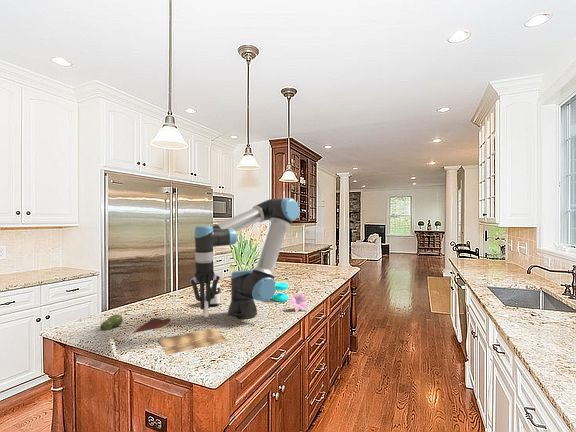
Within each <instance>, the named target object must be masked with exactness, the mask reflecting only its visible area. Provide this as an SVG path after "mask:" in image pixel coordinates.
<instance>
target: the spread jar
mask: <svg viewBox="0 0 576 432" xmlns="http://www.w3.org/2000/svg"><path fill="white" fill-rule="evenodd" d="M212 284H213V283H211V285H210V293H211V289H212ZM220 285H221V284H220V283H217V287H216V292H215V297H214V299H211V301H210V307H217V306H218V307H219V306H220V305H221V303H222V292H221V291H222V290H221V288H220V287H221V286H220ZM204 293H205V300H206V291H204Z"/></svg>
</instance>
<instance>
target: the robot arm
mask: <svg viewBox="0 0 576 432" xmlns="http://www.w3.org/2000/svg"><path fill="white" fill-rule="evenodd" d="M299 216H300V207H299V204H298V202H297V201H296V200H295V199H294V198H291V197H290V198H289V197H282V198H281V197H280V198H271V199H267V200H264V201H262V202H260V203H257V204H255V205H254V206H252V208H251V209H249V210H247V211H244V212H242V213H239V214H237V215H235V216H232V217H230V218H227V219H225V220H224V221H221V222H219V223H217V224H214V225H197V226H195V228H194V252H195V253H194V257H195V274H194V277H192V278H189V282H190V284H191V286H192V289H193V292H194V297H195V299H196V301H198V302H200V309H201V310H202V316H203V317H204V318H207V317H209V309H210V308H211V306H210V301H211V299H214V297H215V292H216V287H217V284H219V283H218V282H219V280H220V279H221V278H220V276H219V275H217V274H215V271H214V268H215V267H214V248H215V247H225V246H232V245H235V244H236V243H237V242H238V233H237V232H239V231H241V230H243V229H245V228H248V227H250V226H252V225H254V224H256V223H263V222H265V221H270V225H269V229H268V232H267V235H266V238H265V241H264V243H263V247H262V251H261V254H260V255H259V258H258V262H257V265H256V267H254V268H253V269H245V270H243V269H242V270H235V271H233V272H232V273H231V276H230V282H231V283H230V285H231V286H230V288H231V289H230V291H231V293H230V296H231V297H230V304H229V306H228V310H227V316H230V317H234V318H237V320H245V319H246V320H247V319H251V318H255V317H256V316H257V315H258V309H257V306H256V303H255V301H259V302H266V301H267V302H268V301H269V300H270V299H272V296H273V295H274V294H276V293H275V292H276V291H277V290H276V285H275V284H276V283H277V282H276V281H275V279H276V278H275V277H276V276H275V274H274V271H275V266H276V264H277V260H278V258H279V254H280V251H281V248H282V245H283V242H284V240H285V239H284V238H285V235H286V233H287V230H288V228H290V227H291V225H292V223H293V221H296V220H297V219H298V218H299ZM197 281H198V284H199V289H198V286H197ZM211 282H212V283H211ZM211 284H212V289H211V293H210V285H211ZM205 292H206V300H205Z"/></svg>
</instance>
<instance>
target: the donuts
mask: <svg viewBox="0 0 576 432" xmlns="http://www.w3.org/2000/svg"><path fill="white" fill-rule="evenodd" d="M275 283H276V284H275V285H276V291H280V292H277V293H274V295H273V296H272V297H271V299H272V300H273V301H275V302H286V301H288V300H289V295H288V294H286V293H283V291H285V290H287V289H289V284H288V283H287V282H275ZM281 291H282V292H281Z"/></svg>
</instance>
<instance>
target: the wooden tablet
mask: <svg viewBox="0 0 576 432" xmlns="http://www.w3.org/2000/svg"><path fill="white" fill-rule="evenodd" d="M170 321H171V318H165V319H161V318H159V317H158V318H157V317H155V318H151V319H149V320H148V321H147V322H145V323H143V324H142V325H141V326H139V327H138V328H137V329H136V330H134V331H133V332H132V334H134V333H135V334H136V333H139V332H140V333H141V332H146V331H151V330H157V329H161V328H163V326H165V325H166V324H168V323H170Z"/></svg>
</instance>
